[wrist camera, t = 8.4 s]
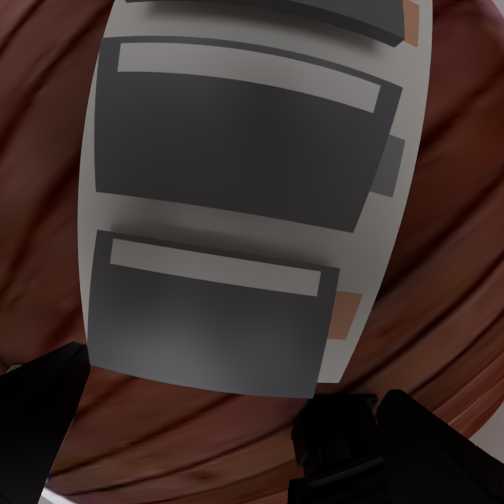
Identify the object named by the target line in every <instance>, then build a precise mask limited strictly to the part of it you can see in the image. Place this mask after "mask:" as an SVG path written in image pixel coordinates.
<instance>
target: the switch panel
mask: <svg viewBox="0 0 504 504" xmlns="http://www.w3.org/2000/svg"><path fill="white" fill-rule="evenodd" d="M403 10H404V28H405V40H403V41H402V42H401V43H400V44H398V45H397V46H396V47H395V48H394V47H392V46H389V45H387V44H384V43H382V42H380V41H377V40H374V39H372V38H369V37H367V36H364V35H361V34H358V33H355V32H353V31H350V30H347V29H344V28H340V27H337V26H334V25H331V24H327V23H324V22H320V21H317V20H313V19H309V18H305V17H301V16H297V15H292V14H288V13H283V12H278V11H273V10H267V9H261V8H255V7H248V6H241V5H233V4H223V3H211V2H194V1H149V2H132V3H126V1H125V0H115V2H114V5H113V8H112V11H111V13H110V17H109V20H108V23H107V26H106V29H105V33H104V36H103V38H107V37H123V36H183V37H199V38H211V39H221V40H229V41H237V42H244V43H250V44H256V45H262V46H268V47H273V48H278V49H283V50H287V51H292V52H296V53H300V54H305V55H309V56H312V57H316V58H320V59H324V60H327V61H331V62H334V63H337V64H340V65H344V66H347V67H350V68H353V69H356V70H359V71H362V72H365V73H367V74H370V75H373V76H376V77H378V78H381V79H383V80H386V81H388V82H391V83H393V84H396V85H398V86H401V87H403V89H402V93H401V97H400V100H399V104H398V107H397V110H396V114H395V117H394V120H393V124H392V127H391V130H390V133H389V136H388V139H387V143H386V146H385V149H384V152H383V155H382V157H381V160H380V163H379V166H378V169H377V172H376V175H375V178H374V180H373V183H372V186H371V189H370V191H369V194H368V197H367V199H366V202H365V204H364V207H363V210H362V212H361V215H360V217H359V220H358V222H357V225H356V227H355V230H354V232H353V233H349V232H344V231H339V230H334V229H329V228H324V227H319V226H314V225H308V224H303V223H297V222H292V221H286V220H281V219H275V218H270V217H264V216H258V215H252V214H246V213H240V212H234V211H228V210H222V209H216V208H209V207H203V206H196V205H190V204H183V203H176V202H169V201H162V200H155V199H148V198H140V197H133V196H125V195H117V194H109V193H101V192H96V187H95V165H94V116H95V94H96V80H97V69H98V59H99V54H98V58H97V62H96V67H95V71H94V76H93V80H92V85H91V90H90V95H89V101H88V107H87V113H86V119H85V126H84V134H83V142H82V151H81V162H80V175H79V193H78V257H79V275H80V288H81V299H82V308H83V317H84V324H85V332H86V338H87V330H88V309H89V294H90V283H91V273H92V264H93V256H94V248H95V241H96V234H97V229H98V230H104V231H110V232H116V233H123V234H129V235H135V236H141V237H147V238H153V239H160V240H166V241H172V242H178V243H185V244H191V245H197V246H203V247H210V248H216V249H222V250H228V251H235V252H241V253H247V254H253V255H260V256H266V257H272V258H279V259H285V260H291V261H297V262H304V263H310V264H316V265H323V266H329V267H335V268H340V272H339V278H338V284H337V290H336V296H335V301H334V307H333V312H332V317H331V322H330V327H329V332H328V337H327V342H326V346H325V351H324V355H323V360H322V364H321V368H320V372H319V376H318V381H317V382H321V383H339V381H340V379H341V377H342V375H343V373H344V371H345V369H346V367H347V365H348V363H349V360H350V358H351V356H352V354H353V352H354V349H355V347H356V345H357V343H358V340H359V338H360V336H361V333H362V331H363V329H364V326H365V324H366V321H367V319H368V316H369V314H370V311H371V309H372V306H373V304H374V301H375V299H376V296H377V293H378V290H379V288H380V285H381V282H382V279H383V277H384V274H385V271H386V268H387V265H388V262H389V259H390V256H391V253H392V250H393V247H394V243H395V240H396V237H397V234H398V230H399V227H400V223H401V220H402V216H403V213H404V209H405V205H406V201H407V197H408V193H409V189H410V185H411V181H412V177H413V172H414V168H415V163H416V158H417V153H418V148H419V143H420V138H421V132H422V126H423V120H424V113H425V106H426V99H427V91H428V82H429V72H430V60H431V44H432V0H403Z"/></svg>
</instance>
